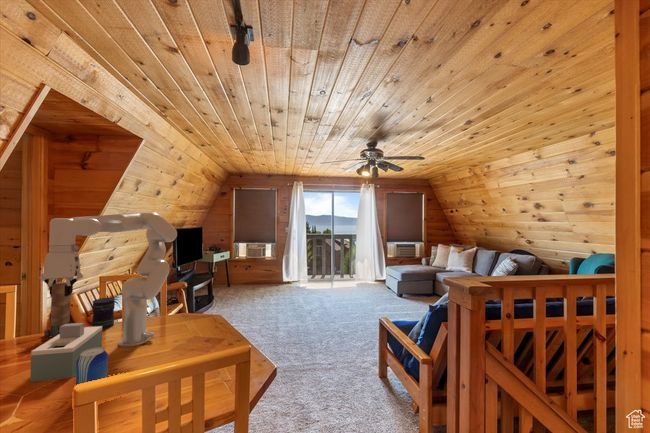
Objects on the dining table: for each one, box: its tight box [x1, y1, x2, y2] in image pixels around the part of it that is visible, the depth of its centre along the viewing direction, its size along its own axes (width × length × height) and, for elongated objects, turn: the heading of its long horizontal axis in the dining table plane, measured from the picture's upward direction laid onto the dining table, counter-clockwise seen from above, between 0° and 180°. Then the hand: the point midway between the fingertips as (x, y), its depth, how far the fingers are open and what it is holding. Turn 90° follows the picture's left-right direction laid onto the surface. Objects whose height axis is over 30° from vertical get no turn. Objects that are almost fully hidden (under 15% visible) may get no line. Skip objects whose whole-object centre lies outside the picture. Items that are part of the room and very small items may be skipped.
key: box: [50, 281, 71, 326], centre depth 110 cm, size 4×4×16 cm
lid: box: [30, 322, 103, 356], centre depth 116 cm, size 13×22×6 cm, turn 15°
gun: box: [43, 312, 62, 339], centre depth 141 cm, size 3×17×15 cm
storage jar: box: [91, 297, 116, 331], centre depth 156 cm, size 10×10×15 cm
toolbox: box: [29, 330, 103, 383], centre depth 116 cm, size 13×22×10 cm, turn 15°
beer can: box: [75, 347, 109, 386], centre depth 96 cm, size 8×8×16 cm
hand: (61, 295), depth 110 cm, fingers closed on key, 4 cm apart
